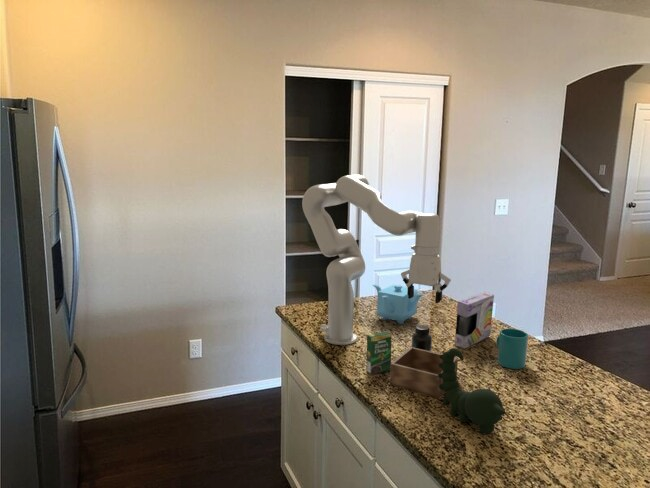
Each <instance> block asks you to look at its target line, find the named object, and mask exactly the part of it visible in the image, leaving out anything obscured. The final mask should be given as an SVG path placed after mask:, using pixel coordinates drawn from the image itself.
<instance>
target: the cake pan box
mask: <svg viewBox="0 0 650 488" xmlns="http://www.w3.org/2000/svg"><path fill="white" fill-rule="evenodd" d="M494 298H495V294H493V293H489V292H486V291H483V292H480V293H479V294H474V295H471V296H468V297H467V298H464V299H461V300H458V301H457V306H456V307H457V309H456V322H455V334H454V335H455V336H454V346H456V347H457V348H458V347H459V348H461V349H467V348H469V347H471V346H473V345H475V344H477V343H479V342H481V341H483V340H485V339H487V338H489V337H491V329H492V322H493V321H492V318H493V310H494V309H493V308H494Z"/></svg>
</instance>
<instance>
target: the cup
mask: <svg viewBox="0 0 650 488" xmlns="http://www.w3.org/2000/svg"><path fill="white" fill-rule="evenodd" d="M528 340H529V334H528V333H527V332H526V331H524V330H521V329H517V328H503V329H501V330H500V331H499V335H498V336H497V337H496V346H497V348H498V349H497V350H498V352H497V362H498V364H499V365H500V366H502V367H504V368H507V369H511V370H519V369H523V368H525V367H526V362H527V353H528Z"/></svg>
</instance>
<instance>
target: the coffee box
mask: <svg viewBox="0 0 650 488" xmlns="http://www.w3.org/2000/svg"><path fill="white" fill-rule="evenodd" d="M391 360H392V333H391V332H389V331H388V330H386V331H381V332H376V333H371V334H366V372H367V373H368V374H369V375H377V374H379V373H385V372H390V364H391V363H392V361H391Z"/></svg>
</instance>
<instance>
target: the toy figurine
mask: <svg viewBox="0 0 650 488" xmlns="http://www.w3.org/2000/svg"><path fill="white" fill-rule="evenodd" d="M442 354H443V355H440V359H442V361H443V362H442V363H439V367H440V368H442V370H443V372H442V373H439V374H438V377H439V378H442V379H443V383H442V384H440V385H439V389H441V390H444V391H445V397H444V398H443V399H442V404H443V405H444V406H449V405H450V409H449V413H450V415H451V416H453V417H454V416H457V415H458V420H459V421H460V422H462V423H465V422H468V421H469V420H470V422H471V423H474V424H475V425H477V426H478V430H479V432H480V434H482V435H489V434H491V433H492V432H494V430H495V429H496V428H495V425H496V424H497V423H499V422H500V421H502V419H503V415H505V414H506V411H505V410H504V405H503V403H502V400H501V398H500V397H499V395H497V393H495V391H493V390H490V389H487V388H477V389H474V390H473V391H470V392H466V391H464V390H462V388H461V387H460V383H459V381H458V380H457V377H458V376H457V374H458V373H457V374H456V372H455V371H454V370H455V367H456V366H455V363H454V357H457V358H458V359H459V360H460V361H464V355H463V352H462V351H461V350H460V349H458V347H457V348H456V347H452V348H450V349H449V350H448V351H444V352H443V353H442Z"/></svg>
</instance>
